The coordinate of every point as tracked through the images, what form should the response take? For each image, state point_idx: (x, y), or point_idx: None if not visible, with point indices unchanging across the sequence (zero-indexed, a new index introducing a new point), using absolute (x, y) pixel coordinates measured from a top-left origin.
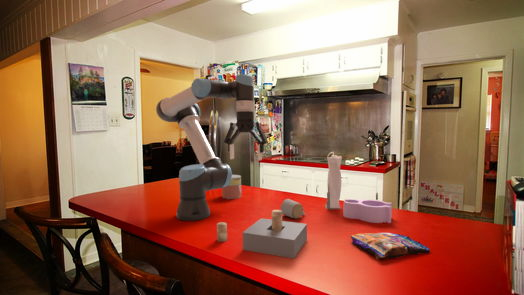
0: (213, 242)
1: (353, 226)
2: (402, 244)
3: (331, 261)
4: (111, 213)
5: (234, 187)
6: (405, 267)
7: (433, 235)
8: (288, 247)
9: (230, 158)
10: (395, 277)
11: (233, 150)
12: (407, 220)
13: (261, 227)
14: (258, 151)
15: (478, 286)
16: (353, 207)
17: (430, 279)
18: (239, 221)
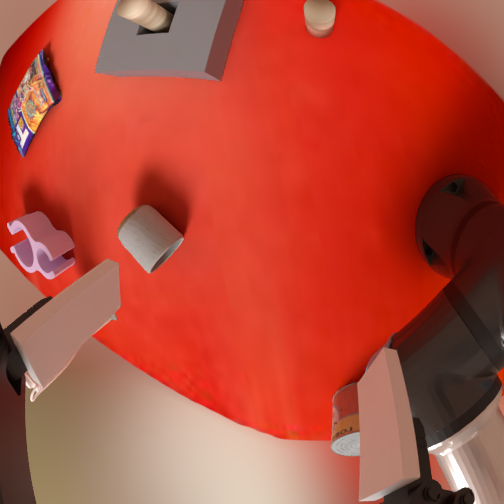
0: (336, 13)
1: (56, 182)
2: (17, 92)
3: (95, 17)
4: None
5: (351, 409)
6: (35, 51)
7: (2, 170)
8: None
9: (392, 354)
10: (49, 22)
11: (367, 440)
12: None
13: (192, 7)
14: (60, 302)
15: (11, 49)
16: (44, 238)
17: (29, 38)
18: (309, 173)
